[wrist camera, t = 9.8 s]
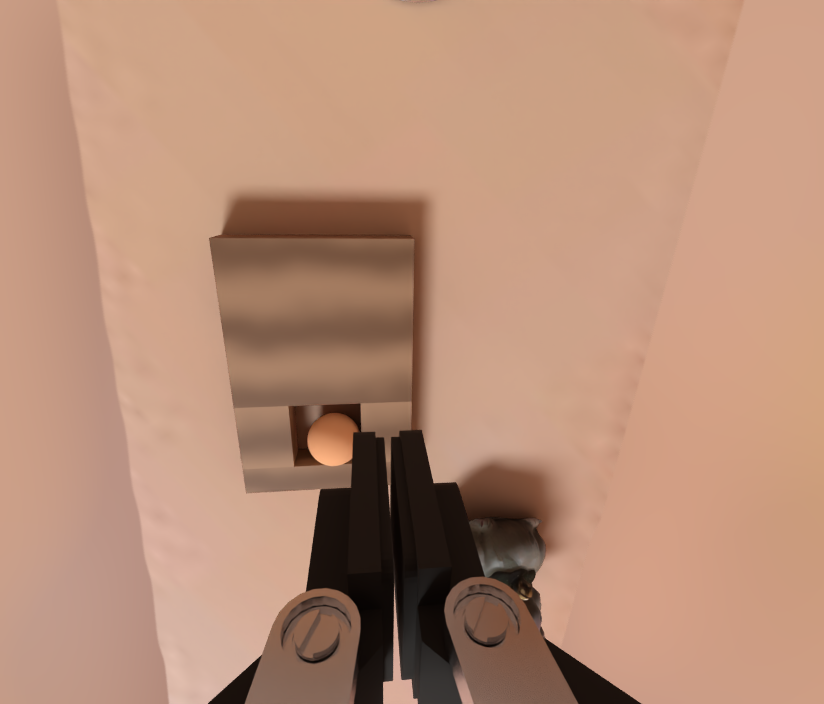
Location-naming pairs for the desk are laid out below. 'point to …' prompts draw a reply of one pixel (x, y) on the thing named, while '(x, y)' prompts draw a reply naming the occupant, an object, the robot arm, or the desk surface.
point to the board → (313, 344)
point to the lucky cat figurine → (512, 556)
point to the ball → (332, 439)
